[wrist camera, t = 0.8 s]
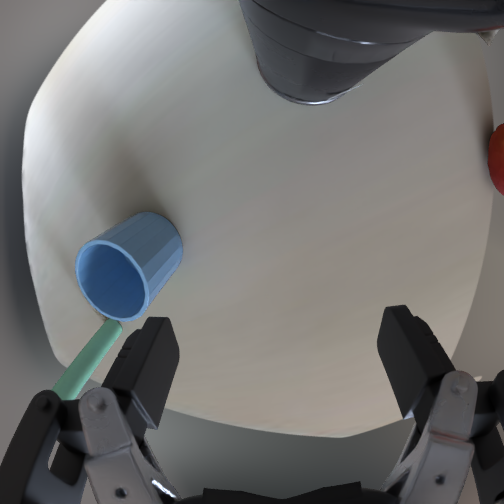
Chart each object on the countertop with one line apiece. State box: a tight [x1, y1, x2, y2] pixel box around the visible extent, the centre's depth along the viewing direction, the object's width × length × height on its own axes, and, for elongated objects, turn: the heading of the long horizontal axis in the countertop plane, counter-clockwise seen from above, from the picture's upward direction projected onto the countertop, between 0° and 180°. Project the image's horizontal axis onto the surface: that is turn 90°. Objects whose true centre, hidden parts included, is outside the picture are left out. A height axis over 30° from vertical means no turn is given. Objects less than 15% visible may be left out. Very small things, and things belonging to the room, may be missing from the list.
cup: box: [75, 212, 183, 322], centre depth 26 cm, size 8×8×9 cm
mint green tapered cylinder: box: [52, 318, 122, 400], centre depth 28 cm, size 3×3×16 cm
